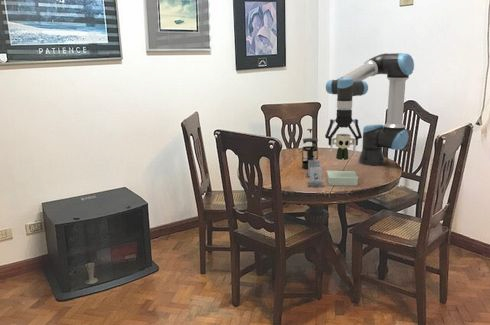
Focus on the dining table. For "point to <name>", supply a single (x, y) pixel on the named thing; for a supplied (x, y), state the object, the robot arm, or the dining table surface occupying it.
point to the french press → (309, 150)
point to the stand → (342, 178)
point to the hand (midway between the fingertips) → (342, 151)
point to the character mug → (343, 145)
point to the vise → (314, 174)
